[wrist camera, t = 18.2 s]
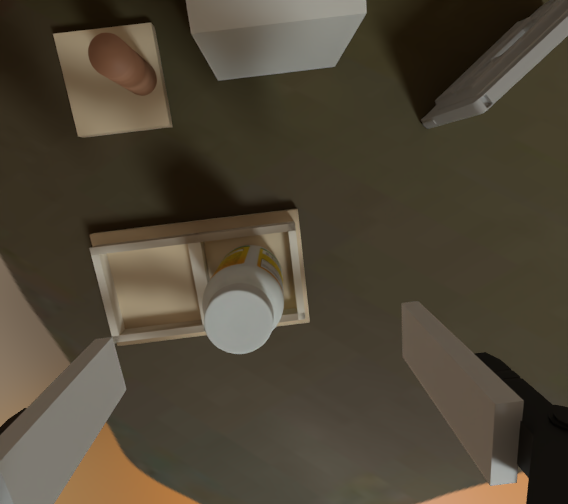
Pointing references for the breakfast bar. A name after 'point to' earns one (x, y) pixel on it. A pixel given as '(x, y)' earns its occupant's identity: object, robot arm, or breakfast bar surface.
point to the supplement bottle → (243, 300)
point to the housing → (272, 34)
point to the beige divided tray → (187, 272)
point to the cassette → (502, 65)
